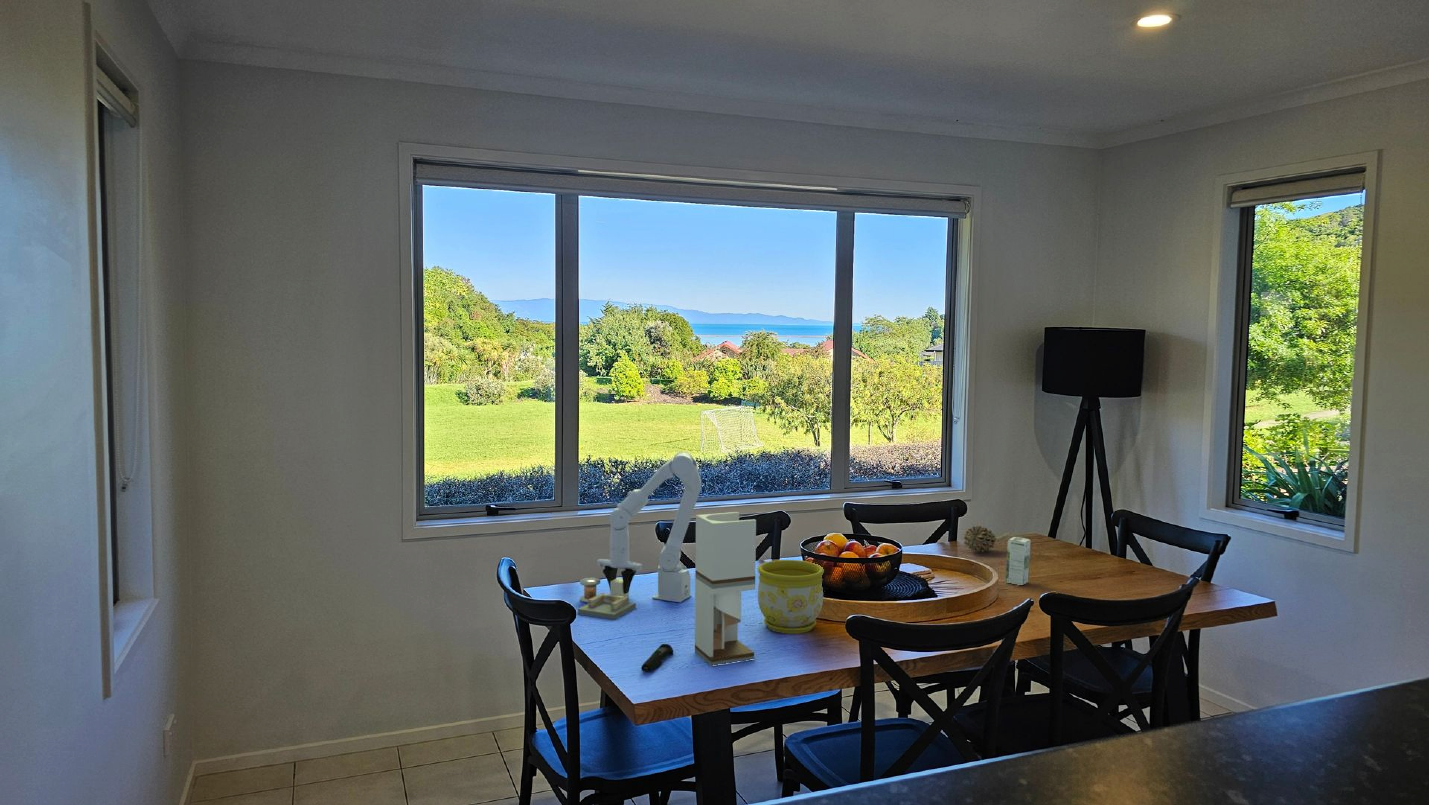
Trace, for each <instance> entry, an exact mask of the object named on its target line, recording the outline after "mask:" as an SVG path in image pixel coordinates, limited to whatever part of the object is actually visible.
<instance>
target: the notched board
mask: <svg viewBox="0 0 1429 805" xmlns="http://www.w3.org/2000/svg"><path fill="white" fill-rule="evenodd" d="M596 595H597V596H595V597H593V598H591V599H589V600H588V603H586V604H585V605H583V606H581V607H579V608H577V615H582V616H586V617H587V616H588V617H594V618H600V619H608V620H614V621H616V620H618V619H619V618H621V617H623V616H625V615H626V614H628V613H630V612H631V611H633V610H635V609H636V606H637V603H636V602H631V601H630V600H629V598H630V597H629V596H627V597H625V596H618V595H611V594H609V593H603V592H602V593H599V594H596Z"/></svg>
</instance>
